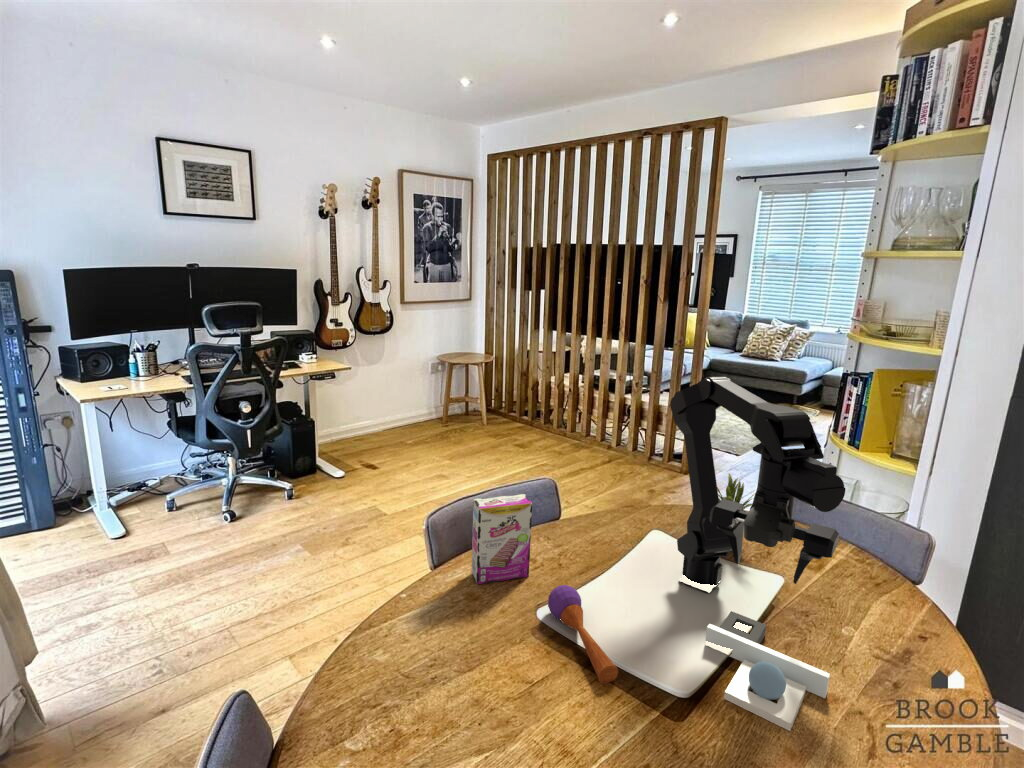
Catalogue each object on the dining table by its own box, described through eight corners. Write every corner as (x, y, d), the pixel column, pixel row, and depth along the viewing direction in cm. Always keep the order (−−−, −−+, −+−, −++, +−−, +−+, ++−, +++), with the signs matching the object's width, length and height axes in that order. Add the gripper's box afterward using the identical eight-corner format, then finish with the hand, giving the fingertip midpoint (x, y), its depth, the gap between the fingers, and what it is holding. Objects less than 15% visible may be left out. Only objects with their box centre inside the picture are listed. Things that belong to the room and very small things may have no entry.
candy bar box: (477, 586, 109) (478, 508, 105) (471, 573, 113) (471, 498, 110) (530, 577, 112) (533, 502, 109) (522, 565, 117) (524, 492, 114)
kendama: (588, 666, 82) (541, 584, 100) (592, 696, 84) (545, 610, 102) (624, 652, 84) (571, 574, 102) (627, 682, 86) (574, 600, 104)
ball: (742, 696, 82) (746, 667, 81) (752, 678, 86) (756, 649, 85) (778, 713, 79) (782, 683, 78) (787, 693, 83) (791, 664, 82)
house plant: (687, 526, 137) (693, 463, 133) (746, 531, 135) (753, 467, 131) (698, 555, 123) (705, 485, 119) (763, 561, 121) (772, 490, 118)
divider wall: (705, 645, 93) (706, 626, 92) (707, 641, 94) (709, 623, 93) (825, 698, 82) (828, 678, 81) (826, 693, 83) (830, 673, 82)
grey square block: (718, 637, 95) (719, 627, 95) (730, 620, 100) (731, 610, 99) (754, 652, 92) (756, 642, 91) (765, 635, 96) (766, 624, 96)
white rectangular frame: (724, 698, 82) (724, 691, 81) (743, 666, 88) (744, 659, 88) (790, 731, 76) (791, 723, 76) (805, 693, 83) (806, 686, 83)
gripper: (702, 485, 90) (693, 572, 93) (832, 519, 78) (817, 617, 82) (725, 467, 98) (716, 547, 102) (845, 495, 87) (831, 585, 90)
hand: (765, 572), depth 94 cm, fingers open, 9 cm apart
